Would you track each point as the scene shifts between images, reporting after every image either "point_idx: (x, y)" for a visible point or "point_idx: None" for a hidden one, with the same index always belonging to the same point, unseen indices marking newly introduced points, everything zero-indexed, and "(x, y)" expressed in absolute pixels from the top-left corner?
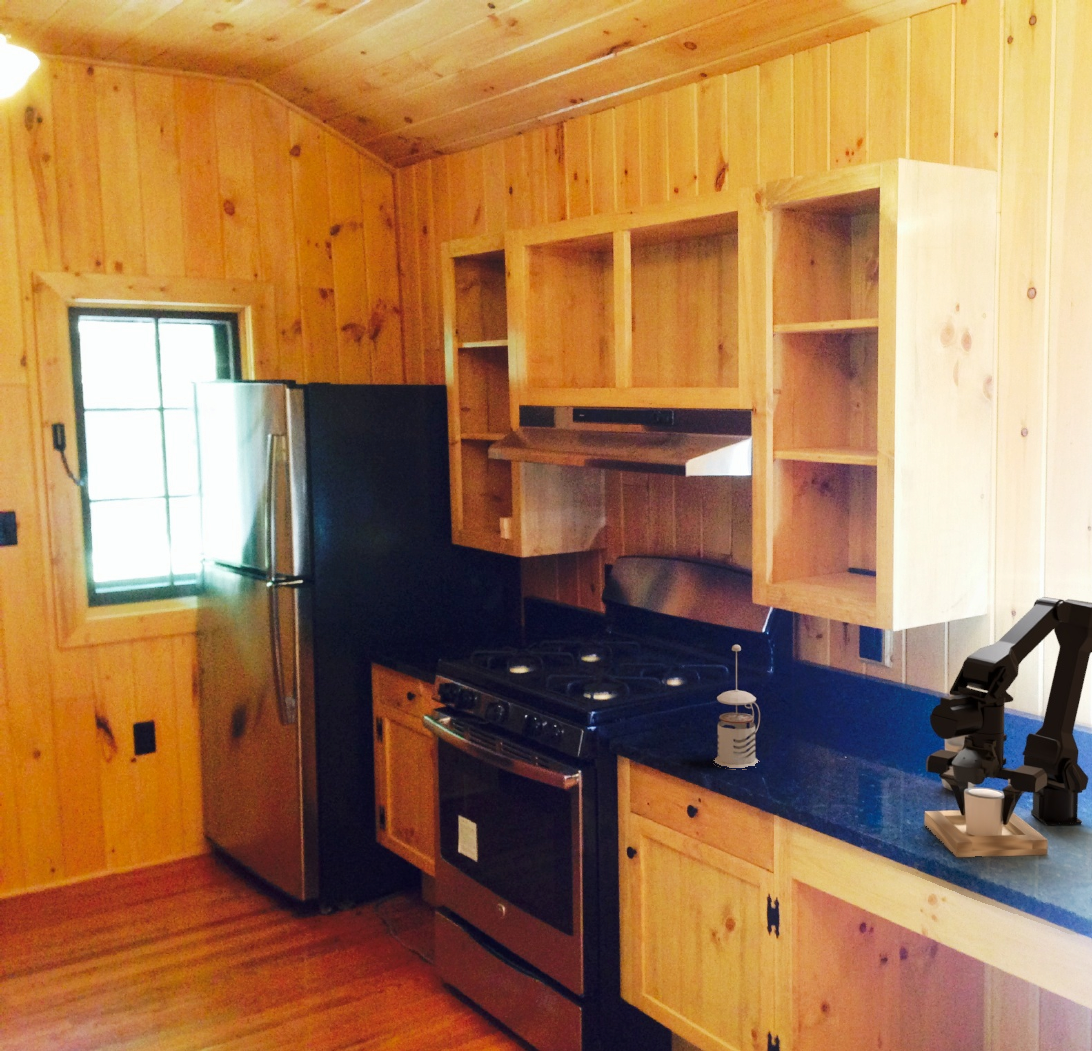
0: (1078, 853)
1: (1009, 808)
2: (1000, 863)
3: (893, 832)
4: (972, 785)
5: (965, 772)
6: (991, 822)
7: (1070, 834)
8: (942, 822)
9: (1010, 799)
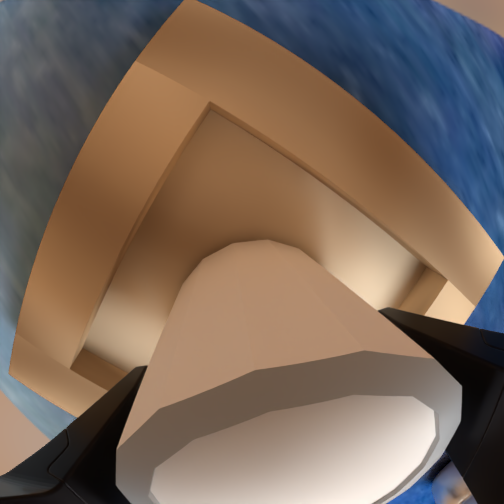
0: (22, 405)
1: (67, 428)
2: (44, 129)
3: (486, 100)
4: (436, 488)
5: None
6: (171, 316)
7: None
8: (418, 194)
9: (25, 471)
